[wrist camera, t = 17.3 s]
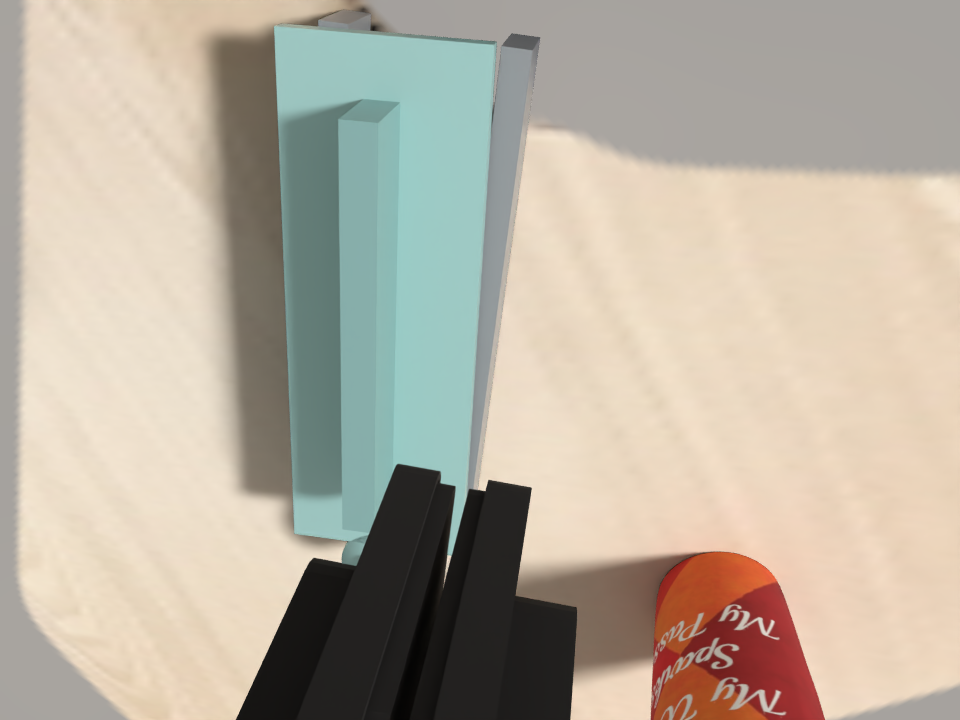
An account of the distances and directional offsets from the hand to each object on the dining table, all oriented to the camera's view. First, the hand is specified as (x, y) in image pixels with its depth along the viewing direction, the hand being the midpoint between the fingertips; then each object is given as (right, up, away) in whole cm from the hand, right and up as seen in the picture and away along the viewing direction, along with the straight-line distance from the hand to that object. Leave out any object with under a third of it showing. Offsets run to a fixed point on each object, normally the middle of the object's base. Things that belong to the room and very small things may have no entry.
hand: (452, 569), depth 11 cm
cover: (-3, +3, +23) cm, 23 cm away
